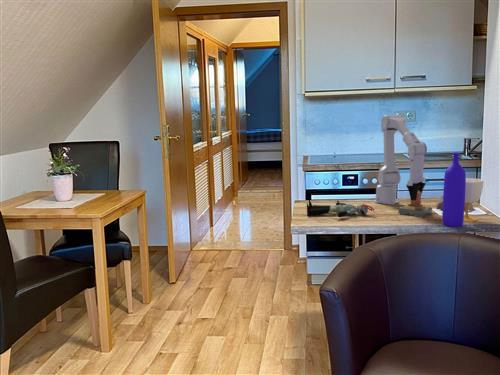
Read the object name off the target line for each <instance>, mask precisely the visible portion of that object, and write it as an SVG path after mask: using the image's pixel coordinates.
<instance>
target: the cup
mask: <svg viewBox="0 0 500 375" xmlns="http://www.w3.org/2000/svg"><path fill="white" fill-rule="evenodd" d="M483 188H484V180H483V179H481V178H472V177H466V186H465V205H466V211H464V221H463V222H477V221H478V220H479V219H478V218H477V217H475V216H470V215H469V211H468V206H469V204H475V203H477V202H478V201H479V200H480V198H481V197H482V192H483Z"/></svg>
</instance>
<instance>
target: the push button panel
mask: <svg viewBox="0 0 500 375" xmlns="http://www.w3.org/2000/svg"><path fill="white" fill-rule="evenodd" d="M399 213H401V214H400V215H406V214H409V215H408V216H413V215H416V216H415V217H421V216H422V218H423V217H424V218H425V217H427V216H429V215H431V214H432V213H433V207H431V206H428V207H426V205H425V204H422V203H421V204H417V205H416V204H411V203H406V204H405V205H403V206H400V207H398V214H399Z"/></svg>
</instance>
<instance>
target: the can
mask: <svg viewBox="0 0 500 375" xmlns="http://www.w3.org/2000/svg"><path fill="white" fill-rule="evenodd" d="M421 202H422V194H421V192H419V191H418V192H417V198H416V200H411V199H410V204H416V205H417V204H422V203H421Z"/></svg>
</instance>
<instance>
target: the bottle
mask: <svg viewBox="0 0 500 375" xmlns="http://www.w3.org/2000/svg"><path fill="white" fill-rule="evenodd" d="M451 154H452V155H453V159H452V163H451V164H450V165H449V166H448V167H447V168H446V170H445V171H444V175H443V176H444V179H443V191H442V192H443V194H442V196H443V210H442V226H445V227H448V228H460V227H463V225H464V222H465V221H464V216H465V211H464V207H465V186H466V178H467V177H466V175H467V174H466V171H465V169H464V167H463V166H462V165H461V164H460V162H459V156H460V154H461V152H459V151H458V152H455V151H453V152H452V153H451Z"/></svg>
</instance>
